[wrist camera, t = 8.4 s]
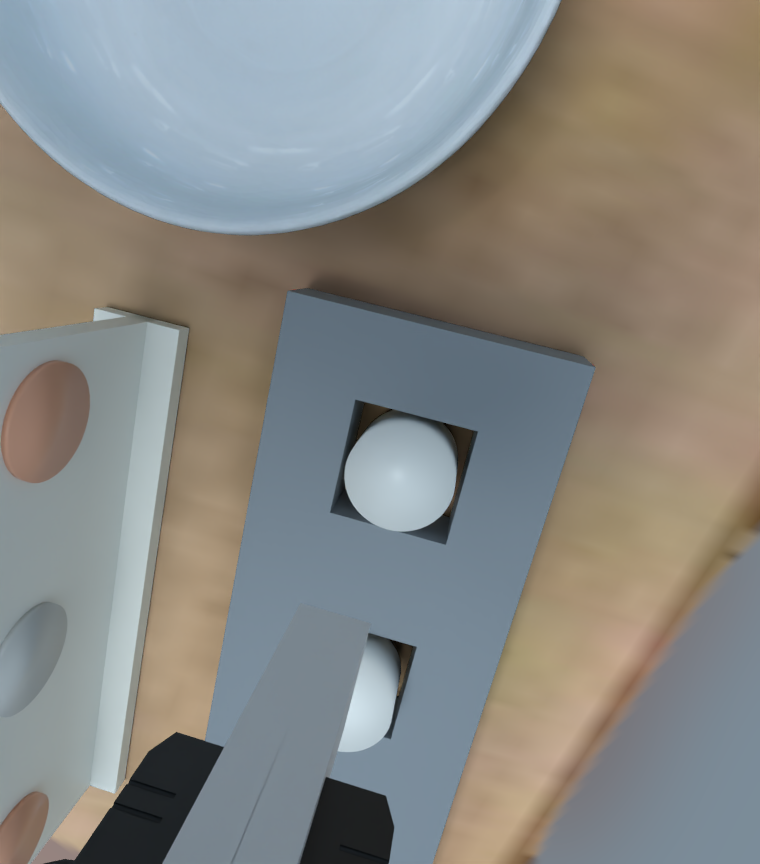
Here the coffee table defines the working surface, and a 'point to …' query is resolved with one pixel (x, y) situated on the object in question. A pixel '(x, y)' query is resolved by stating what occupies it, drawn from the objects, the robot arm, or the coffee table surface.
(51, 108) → the serving bowl
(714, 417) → the coffee table surface
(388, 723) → the button middle
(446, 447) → the button
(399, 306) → the coffee table surface
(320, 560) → the button board
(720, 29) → the coffee table surface
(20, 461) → the pattern card
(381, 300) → the coffee table surface
